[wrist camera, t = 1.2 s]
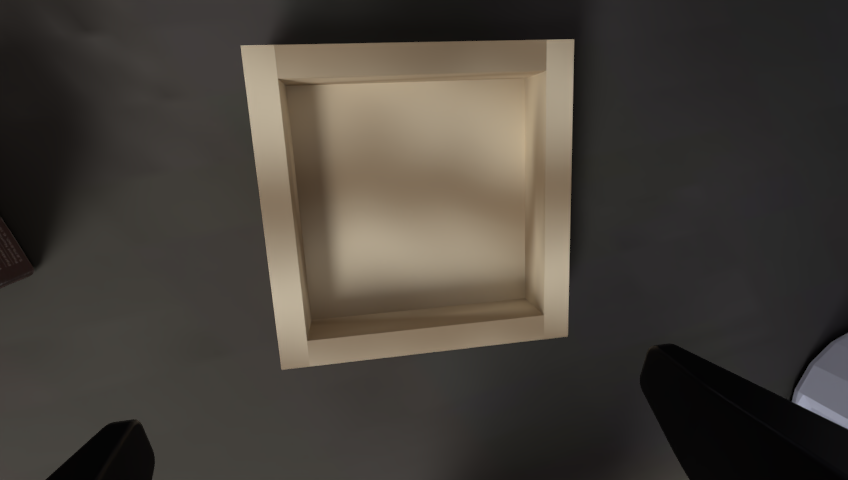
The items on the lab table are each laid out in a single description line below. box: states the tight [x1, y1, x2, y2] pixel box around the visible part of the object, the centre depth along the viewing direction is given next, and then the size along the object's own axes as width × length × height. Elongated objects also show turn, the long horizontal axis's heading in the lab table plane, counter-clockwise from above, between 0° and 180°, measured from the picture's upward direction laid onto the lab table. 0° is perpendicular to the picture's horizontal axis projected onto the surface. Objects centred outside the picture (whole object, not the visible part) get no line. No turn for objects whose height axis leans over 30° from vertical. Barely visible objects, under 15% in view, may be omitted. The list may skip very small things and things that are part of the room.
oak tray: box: [241, 39, 574, 370], centre depth 18 cm, size 11×11×3 cm
